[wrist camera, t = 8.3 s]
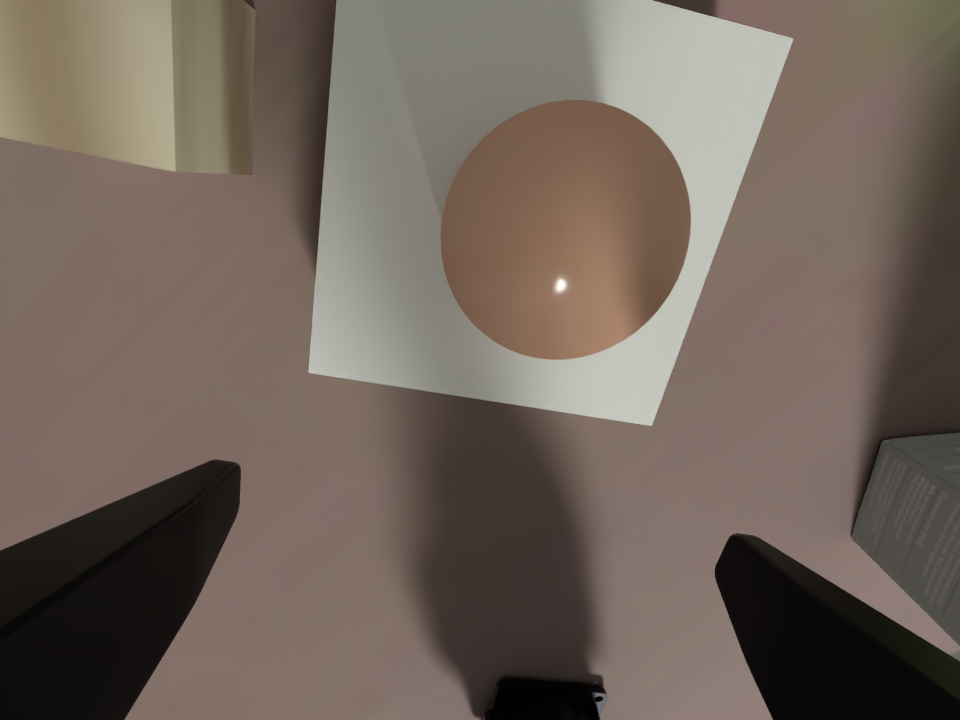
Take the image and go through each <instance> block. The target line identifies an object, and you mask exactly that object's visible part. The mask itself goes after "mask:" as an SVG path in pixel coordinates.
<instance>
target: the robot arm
mask: <svg viewBox="0 0 960 720" xmlns="http://www.w3.org/2000/svg"><path fill="white" fill-rule="evenodd" d="M240 481H241V469H240V466H239V464H238V463H236V462H229V461H222V460H211V461H209V462H206V463H204V464H202V465H199V466H197V467H195V468H192V469H190V470H188V471H185V472H183V473H181V474H178V475H176V476H174V477H171V478H169V479H167V480H164V481H162V482H160V483H157V484H155V485H153V486H150V487H148V488H146V489H143V490H141V491H139V492H136V493H134V494H132V495H129V496H127V497H125V498H122V499H120V500H118V501H115V502H113V503H111V504H108V505H106V506H104V507H101V508H99V509H97V510H94V511H92V512H90V513H87V514H85V515H83V516H80V517H78V518H76V519H73V520H71V521H69V522H66V523H64V524H62V525H59V526H57V527H54V528H52V529H50V530H47V531H45V532H43V533H40V534H38V535H36V536H33V537H31V538H29V539H26V540H24V541H22V542H19V543H17V544H15V545H12V546H10V547H8V548H5V549H3V550H1V551H0V720H125V718H126V716H127V715H128V713H129V711H130V710H131V708H132V706H133V705H134V703H135V702H136V700H137V698H138V697H139V695H140V693H141V692H142V690H143V688H144V687H145V685H146V684H147V682H148V680H149V679H150V677H151V675H152V674H153V672H154V670H155V669H156V667H157V666H158V664H159V662H160V661H161V659H162V657H163V656H164V654H165V652H166V651H167V649H168V648H169V646H170V644H171V643H172V641H173V639H174V638H175V636H176V634H177V633H178V631H179V630H180V628H181V626H182V625H183V623H184V621H185V620H186V618H187V616H188V615H189V613H190V611H191V609H192V608H193V606H194V604H195V602H196V600H197V598H198V596H199V594H200V592H201V590H202V588H203V586H204V584H205V582H206V580H207V578H208V576H209V573H210V571H211V569H212V567H213V565H214V563H215V561H216V559H217V557H218V555H219V552H220V550H221V548H222V546H223V544H224V542H225V540H226V538H227V536H228V533H229V531H230V529H231V527H232V525H233V523H234V521H235V519H236V516H237V513H238V510H239V504H240ZM715 579H716V582H717V585H718V587H719V590H720V593H721V596H722V598H723V601H724V604H725V606H726V609H727V612H728V614H729V617H730V620H731V623H732V625H733V628H734V631H735V633H736V636H737V639H738V641H739V644H740V647H741V649H742V652H743V654H744V657H745V660H746V662H747V664H748V667H749V669H750V671H751V673H752V676H753V678H754V680H755V682H756V684H757V686H758V689H759V691H760V693H761V695H762V697H763V699H764V701H765V703H766V706H767V708H768V710H769V712H770V714H771V716H772V718H773V720H960V661H958V660H957V659H955V658H953V657H952V656H950V655H948V654H947V653H945V652H944V651H942V650H940V649H939V648H937V647H935V646H934V645H932V644H931V643H929V642H927V641H926V640H924V639H922V638H921V637H919V636H918V635H916V634H914V633H913V632H911V631H909V630H908V629H906V628H905V627H903V626H901V625H900V624H898V623H896V622H895V621H893V620H892V619H890V618H888V617H887V616H885V615H883V614H882V613H880V612H879V611H877V610H875V609H874V608H872V607H870V606H869V605H867V604H866V603H864V602H862V601H861V600H859V599H857V598H856V597H854V596H853V595H851V594H849V593H848V592H846V591H844V590H843V589H841V588H840V587H838V586H836V585H835V584H833V583H832V582H830V581H828V580H827V579H825V578H823V577H822V576H820V575H819V574H817V573H815V572H814V571H812V570H810V569H809V568H807V567H806V566H804V565H802V564H801V563H799V562H797V561H796V560H794V559H793V558H791V557H789V556H788V555H786V554H784V553H783V552H781V551H780V550H778V549H776V548H775V547H773V546H771V545H770V544H768V543H767V542H765V541H763V540H762V539H760V538H758V537H756V536H753V535H746V534H739V533H736V534H733V535H731V536H730V537H729V539H728V541H727V543H726V545H725V547H724V549H723V551H722V553H721V555H720V558H719V560H718V562H717V564H716V567H715ZM606 701H607V694H606V691H605V689H604V688H603V687H601V686H591V685H578V684H566V683H554V682H542V681H530V680H518V679H502V680H500V681H499V682H498V684H497V687H496V690H495V693H494V696H493V700H492V703H491V706H490V709H488V710H487V711H486V712H485V713H484V716H483V719H482V720H600V715H601V713H602V711H603V708H604V706H605V703H606Z"/></svg>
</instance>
